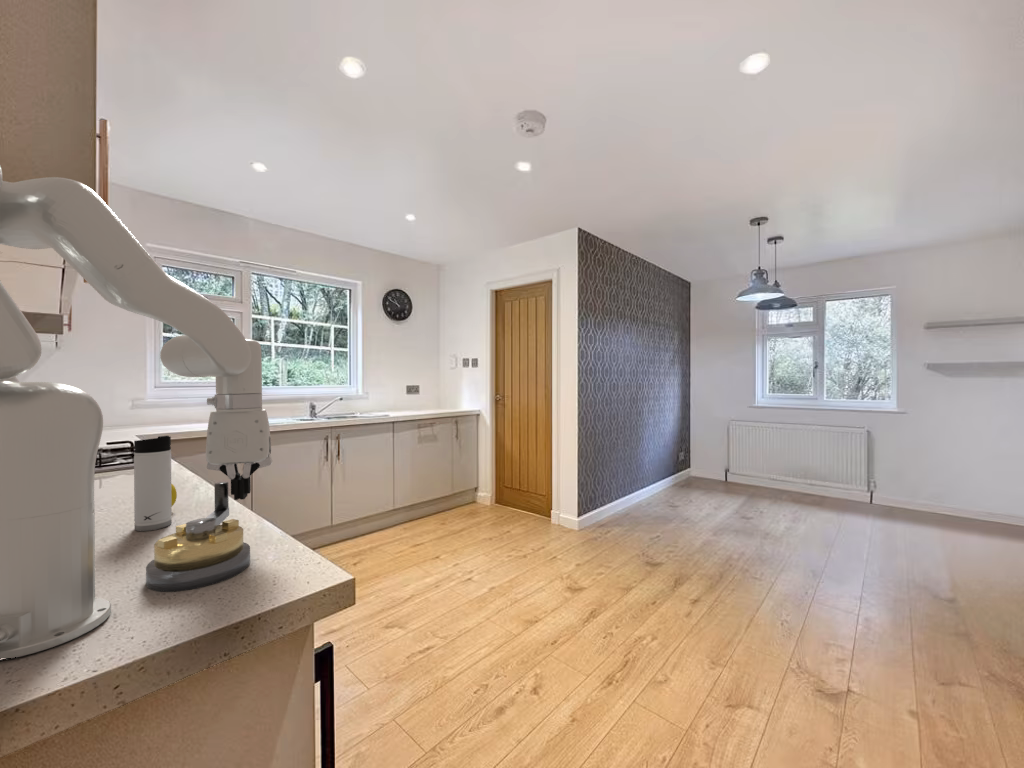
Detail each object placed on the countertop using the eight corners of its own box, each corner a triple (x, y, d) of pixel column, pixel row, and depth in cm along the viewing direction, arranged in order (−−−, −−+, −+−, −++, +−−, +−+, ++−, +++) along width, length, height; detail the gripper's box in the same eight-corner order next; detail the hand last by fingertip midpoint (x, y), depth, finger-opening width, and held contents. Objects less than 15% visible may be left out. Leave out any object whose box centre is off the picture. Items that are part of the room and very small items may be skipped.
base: (215, 590, 65) (215, 574, 65) (121, 592, 64) (121, 575, 64) (266, 553, 79) (266, 540, 79) (189, 554, 78) (189, 541, 78)
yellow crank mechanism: (232, 563, 68) (231, 503, 68) (139, 575, 64) (138, 511, 64) (258, 527, 85) (258, 479, 85) (186, 534, 81) (186, 484, 81)
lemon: (182, 510, 106) (182, 478, 106) (161, 517, 100) (161, 483, 100) (163, 509, 107) (163, 477, 107) (141, 516, 101) (140, 482, 101)
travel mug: (151, 532, 90) (151, 437, 90) (126, 530, 91) (126, 437, 91) (180, 523, 96) (179, 434, 96) (156, 521, 97) (155, 433, 97)
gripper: (185, 405, 76) (187, 507, 76) (279, 403, 81) (281, 499, 81) (200, 403, 83) (201, 496, 83) (286, 401, 88) (287, 489, 88)
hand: (240, 497), depth 82 cm, fingers closed
